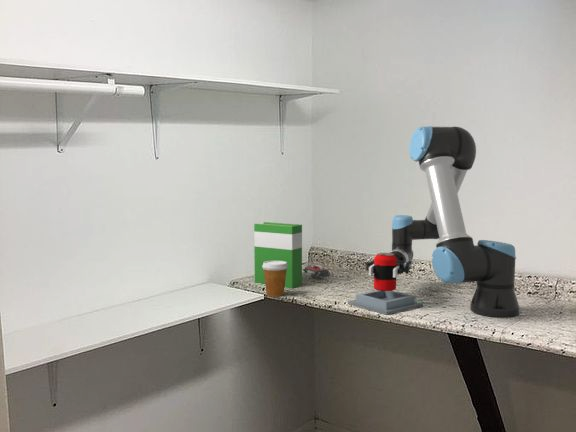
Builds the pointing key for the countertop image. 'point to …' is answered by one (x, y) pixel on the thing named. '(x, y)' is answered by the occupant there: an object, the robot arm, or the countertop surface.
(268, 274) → the disposable coffee cup
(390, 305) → the dock
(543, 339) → the countertop surface
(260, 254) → the cereal box
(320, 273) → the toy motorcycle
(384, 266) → the soda can
